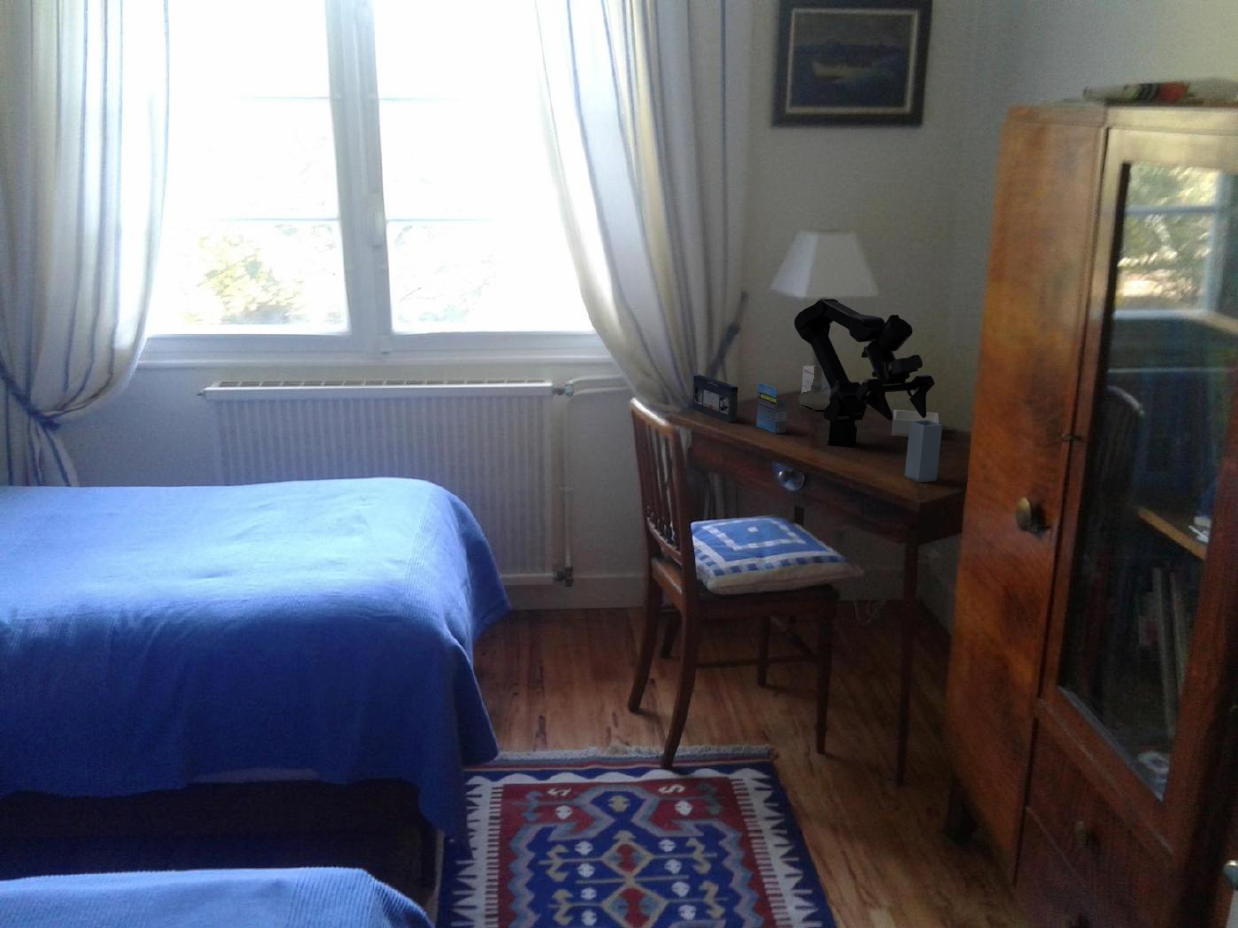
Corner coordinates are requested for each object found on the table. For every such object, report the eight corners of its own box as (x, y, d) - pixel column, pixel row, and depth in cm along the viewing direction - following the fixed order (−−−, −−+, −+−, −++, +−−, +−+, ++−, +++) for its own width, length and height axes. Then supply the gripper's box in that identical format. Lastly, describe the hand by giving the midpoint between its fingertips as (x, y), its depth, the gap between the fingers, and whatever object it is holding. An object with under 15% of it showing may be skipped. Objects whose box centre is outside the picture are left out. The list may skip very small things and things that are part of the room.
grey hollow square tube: (904, 476, 245) (910, 421, 241) (922, 474, 247) (928, 419, 243) (918, 482, 241) (923, 426, 237) (936, 480, 242) (942, 424, 239)
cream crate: (891, 435, 281) (892, 419, 279) (892, 425, 291) (893, 409, 290) (937, 439, 278) (938, 423, 277) (936, 428, 289) (938, 413, 287)
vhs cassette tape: (691, 409, 305) (693, 375, 303) (700, 408, 307) (702, 374, 304) (727, 423, 290) (729, 387, 287) (737, 422, 291) (738, 386, 289)
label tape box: (786, 432, 281) (789, 387, 278) (773, 434, 280) (776, 388, 276) (767, 425, 289) (770, 380, 286) (754, 426, 287) (757, 381, 284)
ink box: (830, 410, 307) (833, 370, 304) (815, 411, 305) (818, 371, 302) (814, 404, 315) (817, 364, 311) (799, 405, 313) (802, 365, 310)
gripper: (866, 344, 243) (891, 402, 236) (934, 341, 250) (960, 397, 243) (844, 372, 252) (867, 428, 245) (910, 368, 259) (934, 422, 252)
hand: (908, 418), depth 246 cm, fingers open, 9 cm apart
